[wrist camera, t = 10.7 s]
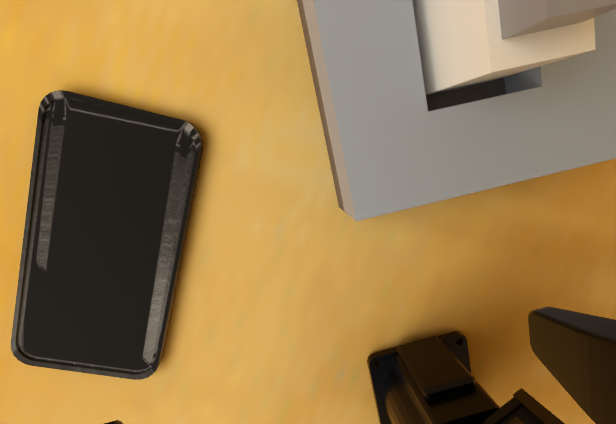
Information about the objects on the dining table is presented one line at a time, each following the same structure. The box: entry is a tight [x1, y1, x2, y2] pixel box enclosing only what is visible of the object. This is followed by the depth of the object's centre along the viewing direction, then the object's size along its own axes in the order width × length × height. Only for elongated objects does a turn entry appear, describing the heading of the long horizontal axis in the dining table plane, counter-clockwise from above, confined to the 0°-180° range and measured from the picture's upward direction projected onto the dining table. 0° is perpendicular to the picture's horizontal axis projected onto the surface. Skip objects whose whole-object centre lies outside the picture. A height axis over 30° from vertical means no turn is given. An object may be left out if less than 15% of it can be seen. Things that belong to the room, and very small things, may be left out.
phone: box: [11, 90, 203, 379], centre depth 19 cm, size 8×1×15 cm
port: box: [297, 0, 616, 221], centre depth 17 cm, size 16×14×4 cm
